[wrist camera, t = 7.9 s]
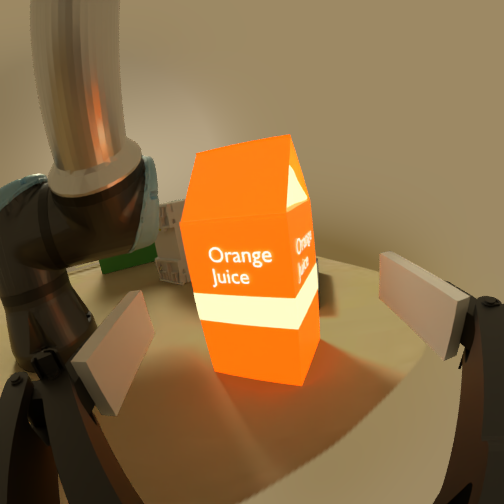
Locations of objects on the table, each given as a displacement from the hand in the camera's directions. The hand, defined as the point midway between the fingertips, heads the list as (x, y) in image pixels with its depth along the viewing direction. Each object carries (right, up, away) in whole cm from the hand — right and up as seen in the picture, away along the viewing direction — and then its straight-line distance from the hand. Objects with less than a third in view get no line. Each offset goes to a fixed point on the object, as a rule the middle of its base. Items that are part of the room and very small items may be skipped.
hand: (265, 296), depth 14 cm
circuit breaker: (-12, -2, +43) cm, 45 cm away
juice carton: (+1, -8, +12) cm, 15 cm away
